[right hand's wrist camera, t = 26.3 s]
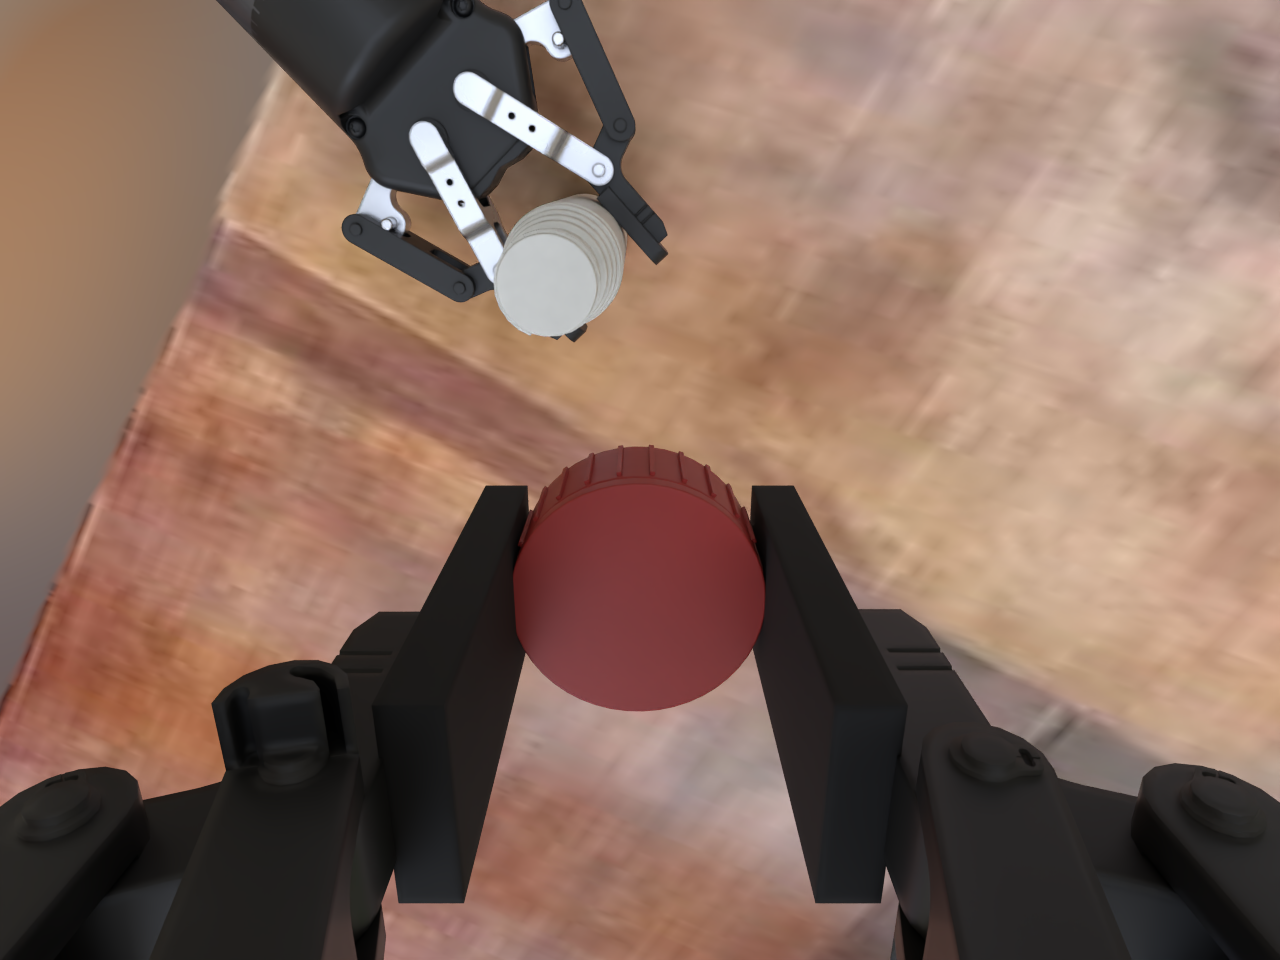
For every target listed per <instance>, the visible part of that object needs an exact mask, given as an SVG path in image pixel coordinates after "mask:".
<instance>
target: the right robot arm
mask: <svg viewBox="0 0 1280 960" xmlns="http://www.w3.org/2000/svg"><path fill="white" fill-rule="evenodd" d="M528 514H529V506H528V487H527V486H485V488H484V490H483V492H482V494H481V496H480V498H479V500H478V502H477V504H476V505H475V507H474V509H473V511H472V513H471V515H470V517H469V519H468V521H467V523H466V525H465V527H464V529H463V530H462V532H461V534H460V536H459V538H458V540H457V542H456V544H455V546H454V548H453V550H452V552H451V553H450V555H449V557H448V559H447V561H446V563H445V565H444V567H443V569H442V571H441V573H440V575H439V577H438V578H437V580H436V582H435V584H434V586H433V588H432V590H431V592H430V594H429V596H428V598H427V600H426V601H425V603H424V605H423V607H422V609H421V611H420V612H378V613H377V614H375V615H374V616H373V617H371V618H370V619H368V620H367V621H365V622H364V623H363V624H361V625H360V626H358V627H357V628H355V629H354V630H353V631H352V633H351V634H350V636H349V638H348V639H347V641H346V642H345V644H344V645H343V647H342V648H341V650H340V655H337V656H336V658H335V659H334V661H333V662H332V664H330V663H326V662H323V661H319V660H293V661H288V662H283V663H278V664H273V665H269V666H266V667H263V668H261V669H258V670H256V671H253V672H251V673H248V674H246V675H243V676H242V677H240V678H239V679H237V680H236V681H234V682H233V683H231V684H230V685H228V686H227V687H225V688H224V689H223V690H222V691H221V692H220V694H219V695H218V696H217V697H216V699H215V700H214V701H213V702H212V703H211V704H212V709H213V713H214V718H215V722H216V727H217V732H218V736H219V741H220V745H221V750H222V754H223V759H224V764H225V768H226V772H225V774H224V777H223V779H222V781H221V782H218V783H215V784H211V785H208V786H204V787H201V788H197V789H192V790H188V791H183V792H178V793H174V794H169V795H165V796H160V797H155V798H151V799H146V800H142V796H141V792H140V789H139V785H138V781H137V780H136V779H135V778H134V777H133V776H131V775H130V774H129V773H128V772H127V771H125V770H120V769H115V768H109V767H98V768H88V769H78V770H75V771H72V772H67V773H65V774H62V775H61V774H60V775H57V776H54V777H51V778H49V779H46V780H44V781H42V782H40V783H38V784H36V785H34V786H32V787H30V788H28V789H26V790H24V791H22V792H20V793H18V794H17V795H16V796H14V797H13V798H11V799H10V800H9V801H7V802H6V803H5V804H3V805H2V806H1V807H0V960H384V951H385V941H386V933H385V926H384V919H383V912H382V905H381V902H382V900H383V897H384V894H385V891H386V889H387V886H388V883H389V880H390V878H391V875H392V872H393V869H394V873H395V880H396V888H397V895H398V902H399V903H464V901H465V897H466V893H467V889H468V885H469V880H470V876H471V872H472V868H473V864H474V860H475V856H476V852H477V848H478V844H479V840H480V836H481V832H482V828H483V824H484V820H485V816H486V811H487V807H488V803H489V799H490V795H491V791H492V787H493V783H494V779H495V775H496V771H497V767H498V763H499V759H500V755H501V751H502V746H503V742H504V738H505V734H506V730H507V726H508V722H509V718H510V714H511V710H512V706H513V702H514V698H515V694H516V690H517V686H518V682H519V677H520V673H521V669H522V665H523V661H524V657H525V653H526V652H525V650H524V649H523V647H522V645H521V643H520V641H519V638H518V636H517V633H516V618H515V602H514V586H513V570H514V566H515V562H516V559H517V556H518V553H519V550H520V547H519V546H518V543H519V540H520V537H521V534H522V531H523V528H524V525H525V522H526V519H527V516H528ZM750 523H751V526H752V529H753V532H754V535H755V538H756V541H757V542H756V543H755V545H756V548H757V551H758V554H759V557H760V560H761V563H762V566H763V568H762V569H763V574H764V579H765V584H766V590H765V609H764V620H763V624H762V628H761V631H760V633H759V636H758V638H757V641H756V643H755V645H754V646H753V651H754V655H755V659H756V663H757V667H758V671H759V675H760V679H761V684H762V688H763V692H764V696H765V700H766V704H767V708H768V712H769V716H770V720H771V724H772V728H773V732H774V736H775V740H776V744H777V749H778V753H779V757H780V761H781V765H782V769H783V773H784V777H785V781H786V785H787V789H788V793H789V797H790V801H791V805H792V809H793V814H794V818H795V822H796V826H797V830H798V834H799V838H800V842H801V846H802V850H803V854H804V858H805V862H806V866H807V870H808V874H809V878H810V883H811V887H812V891H813V895H814V899H815V903H881V899H882V891H883V884H884V877H885V869H886V867H887V870H888V872H889V875H890V878H891V881H892V883H893V886H894V889H895V892H896V894H897V897H898V900H899V905H898V912H897V919H896V925H895V932H894V939H893V946H892V953H891V959H890V960H1280V802H1278V801H1277V800H1275V799H1274V798H1273V797H1271V796H1270V795H1269V794H1267V793H1266V792H1264V791H1263V790H1262V789H1260V788H1258V787H1256V786H1254V785H1252V784H1249V783H1247V782H1245V781H1243V780H1241V779H1239V778H1237V777H1235V776H1233V775H1231V774H1228V773H1225V772H1222V771H1217V770H1215V769H1211V768H1207V767H1204V766H1197V765H1187V764H1177V763H1174V764H1168V765H1163V766H1157V767H1154V768H1153V769H1152V770H1150V771H1149V772H1148V773H1147V774H1146V775H1145V776H1144V777H1143V779H1142V782H1141V786H1140V790H1139V794H1138V797H1136V796H1131V795H1126V794H1122V793H1117V792H1112V791H1108V790H1103V789H1098V788H1094V787H1089V786H1085V785H1080V784H1077V783H1073V782H1070V781H1066V780H1063V779H1060V778H1057V775H1056V773H1055V771H1054V769H1053V767H1052V766H1051V764H1050V763H1049V762H1048V760H1047V759H1046V757H1045V756H1044V754H1043V753H1042V752H1040V751H1039V750H1038V749H1036V748H1035V747H1034V746H1032V745H1031V744H1030V743H1029V742H1027V741H1026V740H1025V739H1023V738H1021V737H1019V736H1016V735H1014V734H1012V733H1010V732H1008V731H1005V730H1003V729H1001V728H998V727H993V726H991V725H990V724H989V722H988V721H987V719H986V718H985V716H984V715H983V713H982V711H981V710H980V708H979V707H978V705H977V704H976V702H975V701H974V699H973V698H972V696H971V695H970V693H969V692H968V690H967V689H966V687H965V686H964V684H963V682H962V681H961V679H960V678H959V676H958V675H957V673H956V672H955V670H952V666H951V664H950V663H949V661H948V660H947V658H946V657H945V655H944V654H943V653H940V647H939V646H938V644H937V643H936V641H935V640H934V638H933V637H932V635H931V634H930V632H929V631H928V629H927V628H926V627H925V626H924V625H922V624H921V623H919V622H918V621H917V620H915V619H914V618H912V617H911V616H909V615H908V614H907V613H905V612H904V611H902V610H901V609H858V608H857V606H856V604H855V603H854V601H853V599H852V597H851V595H850V593H849V591H848V589H847V587H846V585H845V583H844V581H843V579H842V578H841V576H840V574H839V572H838V570H837V568H836V566H835V564H834V562H833V560H832V558H831V556H830V555H829V553H828V551H827V549H826V547H825V545H824V543H823V541H822V539H821V537H820V535H819V533H818V531H817V530H816V528H815V526H814V524H813V522H812V520H811V518H810V516H809V514H808V512H807V510H806V508H805V507H804V505H803V503H802V501H801V499H800V497H799V495H798V493H797V491H796V489H795V487H794V486H752V496H751V516H750Z"/></svg>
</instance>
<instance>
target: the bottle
mask: <svg viewBox="0 0 1280 960" xmlns="http://www.w3.org/2000/svg"><path fill="white" fill-rule="evenodd" d="M597 197H598V196H596V195H592V194H577V195H573V196H569V197H566V198H563V199H560V200H557V201H553V202H550V203H547V204H544V205H541V206H539V207H536V208H534V209H533V210H531V211H529V212H528V213H527V214H525V215H524V216H523V217H522V218H521V219H520V220H519V221H518V222H517V223H516V225H515V226H514V227H513V229H512V230H511V232H510V234H509V235H508V237H507V240H506V242H505V245H504V248H503V252H502V253H501V256H500V258H499V260H498V262H497V264H496V267H495V274H494V280H493V282H494V291H495V297H496V300H497V302H498V305H499V308H500V310H501V311H502V312H503V314H504V315H505V317H506V318H507V320H508V321H509V322H510V323H511V324H513V325H514V326H515V327H516V328H517V329H518V330H520V331H522V332H524V333H526V334H528V335H530V336H531V334H535V335H539V336H545V337H546V336H561V335H564V334H567V333H571V332H573V331H574V330H576V329H577V328H579V327H581V326H582V325H583V324H585V323H587V322H589V321H591V320H593V319H594V318H596V317H597V316H599V315H600V314H601V313H602V312H603V311H604V310H605V309H606V308H607V307H608V306H609V305H610V303H611V302H612V301H613V299H614V298H615V296H616V294H617V292H618V290H619V287H620V284H621V281H622V275H623V269H624V262H625V254H626V247H627V232H626V231H625V230H624V229H623V228H622V227H621V226H620V224H619V223H618V222H617V221H616V220H615V219H614V217H613V216H612V215H611V214H610V213H609V212H608V211H607V210H606V209H605V208H604V207H603V205H602V204H601V203H600V202H599V201H598V200H597V199H596V198H597Z"/></svg>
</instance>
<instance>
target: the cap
mask: <svg viewBox="0 0 1280 960" xmlns="http://www.w3.org/2000/svg"><path fill="white" fill-rule="evenodd" d="M756 542H757V541H756V538H755V535H754V532H753V529H752V526H751V523H750V520H749V517H748V514H747V511H746V509H745V507H742V508H741V506H740V504H739V502H738V501H737V499H736V497H735V496H734V494H733V491H732V488H731V486H730V484H729V483H728V484H727V485H726V484H725V483H724V482H723V481H722V480H721V479H720V478H719V477H718V476H717V475H715V474H714V473H713V472H711V470H710V467H709V466H708V465H705V466H703V465H701V464H700V463H698V462H696V461H695V460H693V459H690V458H688V457H686V456H684V454H683V452H680V451H679V453H675V452H672V451H668V450H665V449H658V448H654V445H649V447H626V448H623V445H622V446H618V448H617V449H613V450H608V451H604V452H601V453H598V454H595V455H594V453H591V454H589V457H588V458H586V459H584V460H582V461H580V462H578V463H576V464H574V465H573V466H572V467H570V468H569V469H568V467H565V468H564V469H563V472H562V474H561V475H560V476H559V477H558V478H557V479H555V480H554V481H553V482H552V483H551V485H550V486H549V487H548V488H547V487H546V486H545V487H544V488H543V490H542V493H541V496H540V499H539V501H538V503H537V504H536V506H535V508H534V511H532V510H530V511H529V514H528V516H527V519H526V522H525V525H524V528H523V531H522V534H521V537H520V540H519V543H518V546H519V547H520V550H519V553H518V556H517V559H516V562H515V566H514V570H513V586H514V602H515V618H516V633H517V636H518V638H519V641H520V643H521V645H522V647H523V649H524V650H525V652H526V653H527V655H528V656H529V658H530V659H531V661H532V662H533V663H534V664H535V666H536V667H537V668H538V669H539V670H540V671H541V672H542V673H543V674H544V675H545V676H546V677H547V678H548V679H549V680H551V681H552V682H553V683H554V684H555V685H557V686H558V687H560V688H561V689H563V690H564V691H566V692H567V693H569V694H571V695H573V696H575V697H577V698H579V699H581V700H584V701H586V702H589V703H592V704H594V705H598V706H602V707H606V708H610V709H616V710H623V711H652V710H661V709H666V708H671V707H675V706H678V705H681V704H684V703H687V702H690V701H692V700H694V699H697V698H699V697H701V696H703V695H705V694H707V693H708V692H710V691H712V690H713V689H715V688H716V687H718V686H719V685H720V684H722V683H723V682H724V681H725V680H727V679H728V678H729V677H730V676H731V675H732V674H733V673H734V672H735V671H736V670H737V669H738V668H739V667H740V666H741V664H742V663H743V662H744V660H745V659H746V658H747V656H748V655H749V653H750V652H751V650H752V648H753V646H754V645H755V643H756V641H757V638H758V636H759V633H760V631H761V628H762V624H763V620H764V609H765V590H766V584H765V579H764V574H763V569H762V568H763V566H762V563H761V560H760V557H759V554H758V551H757V548H756V545H755V543H756Z"/></svg>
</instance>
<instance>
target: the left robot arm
mask: <svg viewBox="0 0 1280 960" xmlns="http://www.w3.org/2000/svg"><path fill="white" fill-rule="evenodd" d="M216 1H217V2H218V3H219V4H220V5H221V6H222V7H223V8H224V9H225V10H226V11H227V12H228V13H229V14H230V15H231V16H232V17H233V18H234V19H235V20H236V21H237V22H238V23H239V24H240V25H241V26H242V27H243V28H244V29H245V30H246V31H247V32H248V33H249V35H250V36H251V37H252V38H253V39H254V40H255V41H256V42H257V43H258V44H259V45H260V46H261V47H262V48H263V49H264V50H265V51H266V52H267V53H268V54H269V55H270V56H271V57H272V58H273V59H274V60H275V61H276V62H277V63H278V64H279V65H280V66H281V67H282V68H283V70H284V71H285V72H286V73H287V74H288V75H289V76H290V77H291V78H292V79H293V80H294V81H295V82H296V83H297V84H298V85H299V86H300V87H301V88H302V89H303V90H304V91H305V92H306V93H307V94H308V95H309V96H310V97H311V98H312V99H313V100H314V101H315V102H316V104H317V105H318V106H319V107H320V108H321V109H322V110H323V111H324V112H325V113H326V114H327V115H328V116H329V117H330V118H331V119H332V120H333V121H334V122H335V123H336V124H337V125H338V126H339V127H340V128H341V129H342V130H343V131H344V132H345V133H346V134H347V135H348V136H349V138H350V139H351V140H352V141H353V142H354V143H355V145H356V146H357V148H358V150H359V152H360V154H361V156H362V159H363V161H364V165H365V168H366V170H367V172H368V174H369V175H370V177H371V181H370V183H369V185H368V188H367V190H366V192H365V194H364V197H363V199H362V201H361V204H360V206H359V208H358V211H357V213H356V214H352V215H349V216H347V217H346V218H345V219H344V221H343V223H342V232H343V235H344V237H345V238H346V239H347V240H348V241H349V242H351V243H353V244H354V245H356V246H358V247H360V248H361V249H363V250H365V251H367V252H369V253H370V254H372V255H374V256H376V257H377V258H379V259H381V260H383V261H385V262H386V263H388V264H390V265H392V266H393V267H395V268H397V269H399V270H401V271H402V272H404V273H406V274H408V275H409V276H411V277H413V278H415V279H417V280H418V281H420V282H422V283H424V284H425V285H427V286H429V287H431V288H433V289H434V290H436V291H438V292H440V293H441V294H443V295H445V296H447V297H449V298H450V299H452V300H454V301H456V302H465V301H467V300H469V299H470V298H473V297H475V296H477V295H480V294H482V293H484V292H486V291H489V290H494V282H493V280H494V274H495V267H496V264H497V262H498V260H499V258H500V256H501V253H502V252H503V248H504V245H505V242H506V240H507V237H508V235H507V233H506V231H505V229H504V228H503V225H502V223H501V219H500V216H499V214H498V212H497V210H496V208H495V206H494V204H493V202H492V201H491V199H490V197H489V194H490V193H491V192H492V191H493V190H494V189H495V188H496V187H497V186H498V184H499V182H500V180H501V179H502V177H503V175H504V173H505V171H506V169H507V168H508V167H510V166H511V165H513V164H515V163H517V162H518V161H520V160H522V159H523V158H524V157H525V156H526V155H527V154H528V153H529V152H530V151H531V150H532V149H533V148H534V149H536V150H537V151H539V152H541V153H542V154H544V155H545V156H547V157H549V158H551V159H552V160H554V161H556V162H558V163H559V164H561V165H562V166H564V167H566V168H567V169H569V170H570V171H572V172H574V173H575V174H577V175H579V176H580V177H582V178H583V179H585V180H587V181H588V182H589V183H590V185H591V186H592V187H593V188H594V189H595V190H596V191H597V192H598V194H599V196H598V197H597V198H596V199H597V200H598V201H599V202H600V203H601V204H602V205H603V207H604V208H605V209H606V210H607V211H608V212H609V213H610V214H611V215H612V216H613V217H614V219H615V220H616V221H617V222H618V223H619V224H620V226H621V227H622V228H623V229H624V230H625V231H626V232H627V233H628V235H629V236H630V237H631V238H632V239H633V240H634V241H635V242H636V244H637V245H638V246H639V247H640V248H641V249H642V250H643V251H644V252H645V254H646V255H647V256H648V257H649V258H650V259H651V260H652V261H653V262H654V263H655V264H656V265H657V264H658V263H659V262H660V261H661V260H662V259H663V258H664V257H666V256H667V255H668V252H667V250H666V249H665V248H664V247H663V246H662V244H661V243H660V242H661V241H662V240H663V239H664V238H665V237H666V236H667V232H666V229H665V226H664V224H663V222H662V220H661V219H660V218H659V217H658V216H657V214H656V213H655V212H654V211H653V210H652V209H651V208H650V206H649V205H648V204H647V203H646V202H645V201H644V200H643V198H642V197H641V196H640V195H639V194H638V193H637V191H636V190H635V189H634V188H633V187H632V186H631V185H630V183H629V182H628V181H627V180H626V179H625V177H624V176H623V174H622V170H621V161H622V158H623V155H624V153H625V151H626V149H627V147H628V145H629V143H630V140H631V139H632V138H633V136H634V134H635V120H634V118H633V115H632V113H631V111H630V109H629V106H628V104H627V102H626V100H625V97H624V95H623V93H622V91H621V88H620V86H619V84H618V81H617V79H616V77H615V75H614V72H613V70H612V68H611V66H610V63H609V61H608V59H607V57H606V54H605V52H604V50H603V48H602V45H601V43H600V41H599V38H598V36H597V34H596V32H595V29H594V27H593V25H592V23H591V20H590V18H589V16H588V14H587V11H586V9H585V7H584V5H583V2H582V0H548V1H546V2H544V3H542V4H541V5H539V6H537V7H535V8H534V9H532V10H530V11H528V12H526V13H525V14H523V15H521V16H519V17H518V18H516V19H514V20H513V19H512V18H511V17H510V16H508V15H506V14H504V13H502V12H499V11H496V10H493V9H491V8H489V7H488V6H486V5H485V4H483V3H482V2H481V1H480V0H216ZM534 44H537V45H541V46H543V47H544V48H546V49H547V51H548V52H549V54H550V55H551V56H552V57H553V58H554V59H555V60H557V61H561V62H565V61H568V60H570V59H572V58H573V59H574V62H575V64H576V66H577V68H578V70H579V73H580V75H581V77H582V79H583V81H584V84H585V86H586V88H587V90H588V92H589V95H590V97H591V99H592V101H593V103H594V106H595V108H596V110H597V112H598V114H599V117H600V119H601V121H602V123H603V127H602V129H601V132H600V134H599V136H598V138H597V140H596V143H595V145H594V147H593V148H592V147H591V146H589V145H587V144H586V143H584V142H583V141H581V140H579V139H578V138H576V137H575V136H573V135H572V134H570V133H568V132H567V131H565V130H564V129H562V128H560V127H559V126H557V125H556V124H554V123H552V122H551V121H549V120H548V119H546V118H545V117H543V116H541V115H540V114H538V109H537V102H536V96H535V89H534V82H533V76H532V69H531V62H530V56H529V49H528V46H530V45H534ZM397 191H401V192H406V193H411V194H416V195H420V196H425V197H430V198H435V199H440V200H443V202H444V203H445V205H446V207H447V209H448V211H449V213H450V214H451V216H452V218H453V220H454V222H455V224H456V225H457V227H458V229H459V231H460V232H461V234H462V235H463V236H464V237H465V238H466V239H467V241H468V242H469V244H470V246H471V248H472V250H473V251H474V253H475V255H476V257H477V259H478V261H479V263H476V264H474V265H472V266H470V265H468V264H466V263H464V262H463V261H461V260H459V259H457V258H456V257H454V256H452V255H450V254H449V253H447V252H445V251H444V250H442V249H440V248H438V247H437V246H435V245H433V244H431V243H430V242H428V241H426V240H424V239H423V238H421V237H419V236H417V235H416V234H414V233H412V232H410V229H411V219H410V217H409V215H408V214H407V213H406V212H405V211H404V210H403V209H402V208H401V207H400V206H399V205H398V203H397V200H396V192H397ZM586 329H587V324H586V323H585V324H583V325H582V326H581V327H579V328H577V329H576V330H574V331H573V332H571V333H567V334H565V335H566V336H567V337H568V338H569V339H570V340H571V341H573V342H575V341H576V340H577V339H578V338H579V337H580V336H582V335H583V334H584V333H585V332H586ZM561 336H562V335H561ZM561 336H550V337H552V338H554V339H556V340H558V339H559V338H560V337H561Z"/></svg>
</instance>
